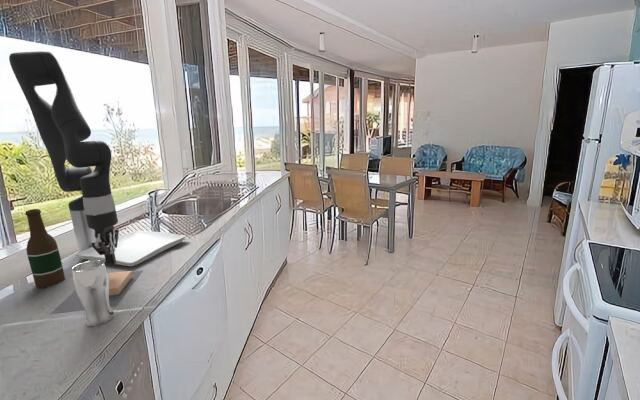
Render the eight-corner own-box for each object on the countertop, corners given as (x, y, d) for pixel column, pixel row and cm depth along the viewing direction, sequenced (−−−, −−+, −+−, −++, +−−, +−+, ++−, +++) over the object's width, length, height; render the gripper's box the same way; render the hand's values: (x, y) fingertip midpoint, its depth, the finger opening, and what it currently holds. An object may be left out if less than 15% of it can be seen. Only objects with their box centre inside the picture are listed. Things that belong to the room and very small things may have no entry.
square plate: (75, 263, 119) (73, 253, 118) (138, 237, 144) (136, 229, 143) (132, 272, 110) (130, 261, 109) (188, 243, 135) (187, 234, 134)
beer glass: (110, 308, 88) (99, 257, 85) (120, 317, 84) (109, 263, 80) (79, 321, 83) (66, 266, 79) (88, 331, 79) (75, 274, 75)
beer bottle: (29, 290, 99) (8, 215, 94) (43, 279, 107) (24, 208, 101) (59, 286, 101) (40, 212, 95) (70, 275, 109) (54, 205, 103)
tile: (100, 273, 102) (82, 291, 92) (131, 270, 104) (117, 287, 93) (101, 281, 103) (84, 299, 92) (132, 277, 104) (119, 295, 94)
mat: (90, 277, 107) (90, 275, 107) (143, 271, 110) (143, 270, 109) (50, 315, 86) (49, 313, 86) (116, 307, 89) (116, 305, 88)
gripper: (96, 205, 102) (107, 257, 106) (74, 217, 89) (87, 275, 93) (123, 203, 103) (132, 254, 107) (104, 215, 90) (116, 272, 95)
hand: (111, 264), depth 100 cm, fingers closed
